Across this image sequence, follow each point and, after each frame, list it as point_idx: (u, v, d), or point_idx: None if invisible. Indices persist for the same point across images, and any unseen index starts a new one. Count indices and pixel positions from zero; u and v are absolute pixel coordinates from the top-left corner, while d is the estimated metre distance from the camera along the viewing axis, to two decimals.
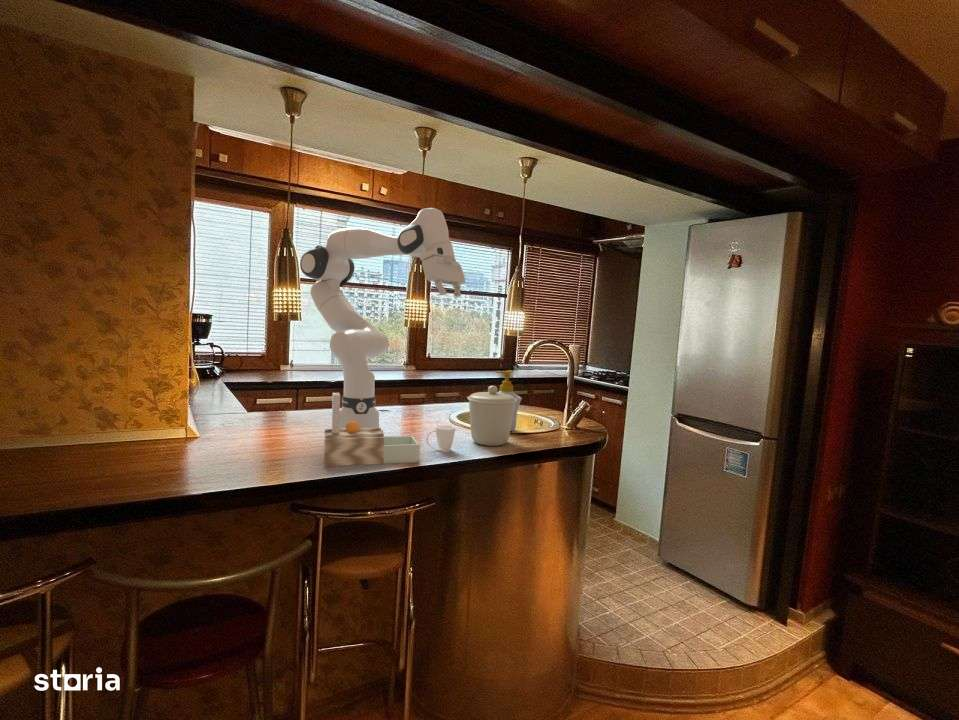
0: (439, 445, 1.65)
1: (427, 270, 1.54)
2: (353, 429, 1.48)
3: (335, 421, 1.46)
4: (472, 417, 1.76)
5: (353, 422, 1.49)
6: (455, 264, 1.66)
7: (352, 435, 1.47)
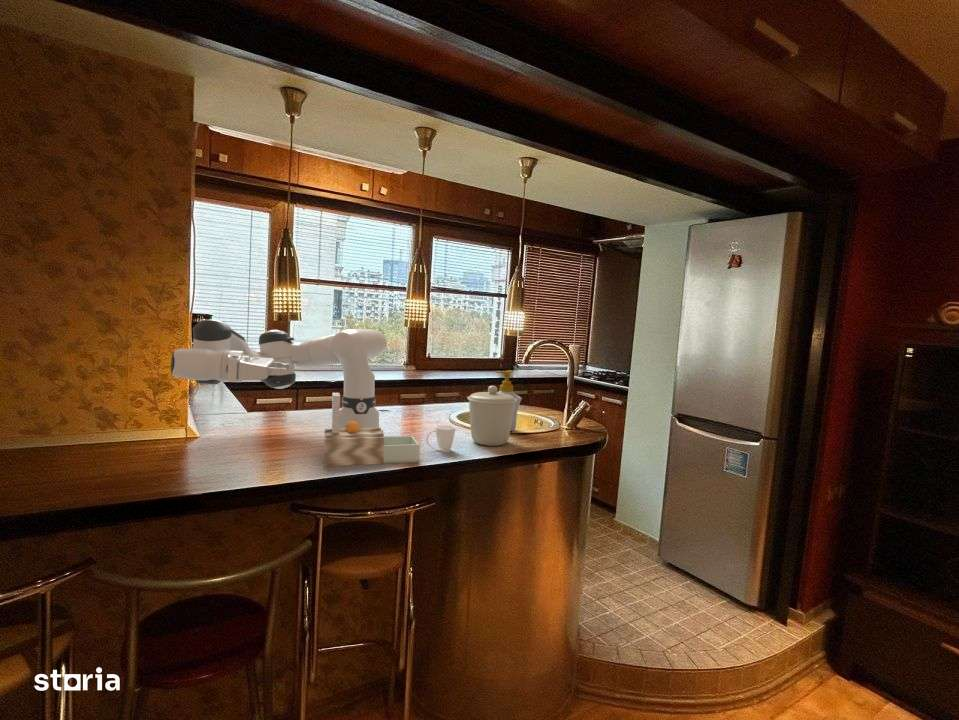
0: (439, 445, 1.65)
1: (253, 374, 1.31)
2: (353, 429, 1.48)
3: (335, 421, 1.46)
4: (472, 417, 1.76)
5: (353, 422, 1.49)
6: (251, 358, 1.44)
7: (352, 435, 1.47)
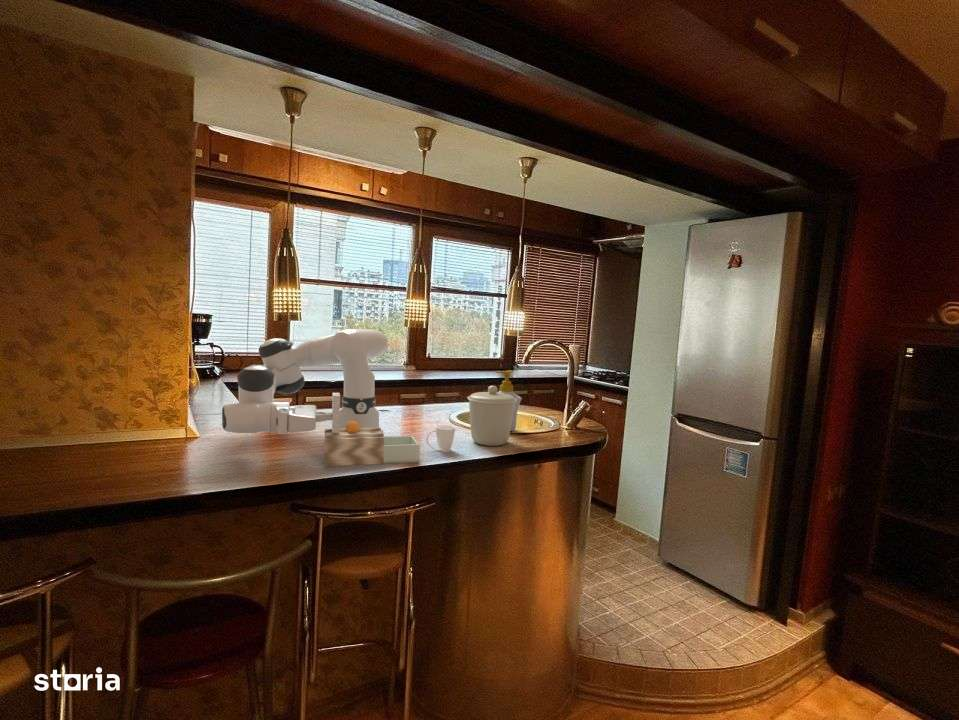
0: (439, 445, 1.65)
1: (303, 426, 1.36)
2: (353, 429, 1.48)
3: (335, 421, 1.46)
4: (472, 417, 1.76)
5: (353, 422, 1.49)
6: (295, 407, 1.49)
7: (352, 435, 1.47)
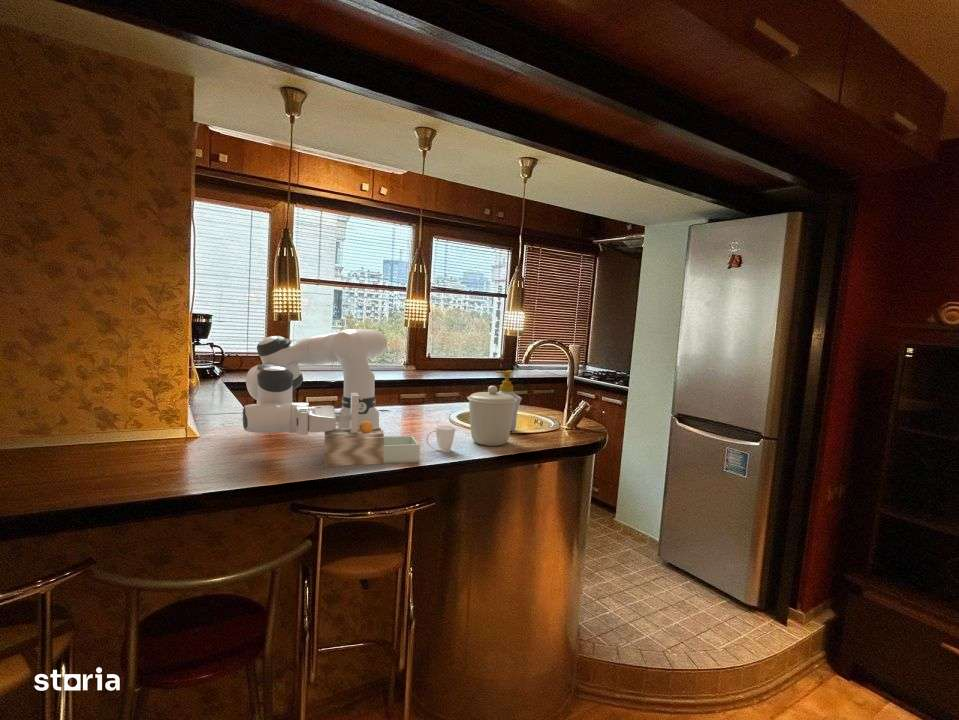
0: (439, 445, 1.65)
1: (324, 426, 1.37)
2: (366, 429, 1.50)
3: (354, 421, 1.47)
4: (472, 417, 1.76)
5: (371, 430, 1.51)
6: None
7: (352, 435, 1.47)
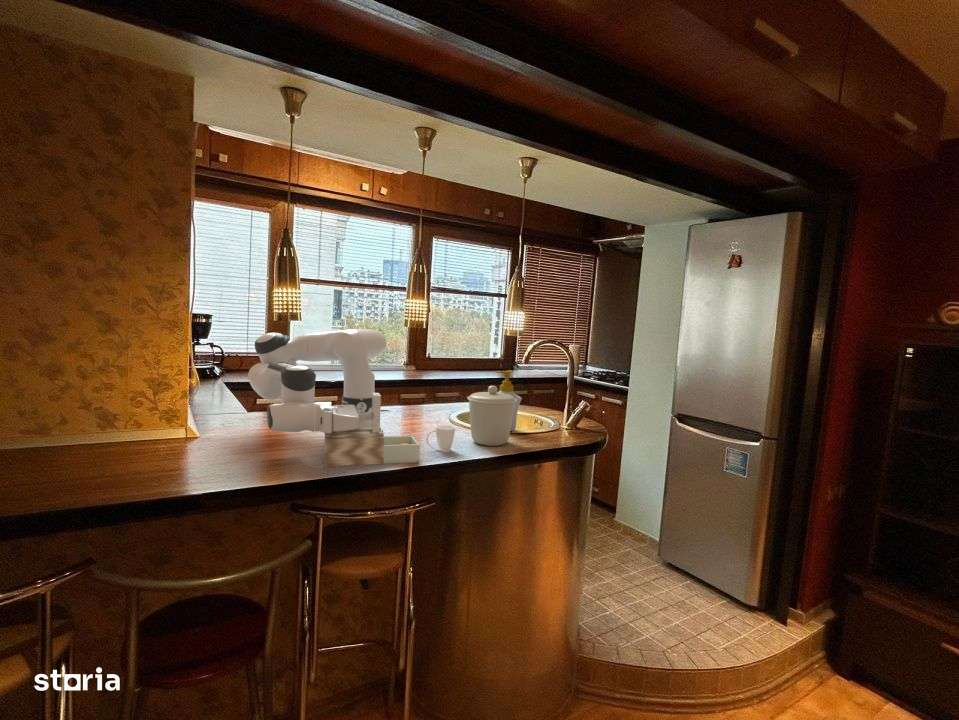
0: (439, 445, 1.65)
1: (347, 425, 1.40)
2: None
3: (376, 421, 1.50)
4: (472, 417, 1.76)
5: None
6: None
7: (352, 435, 1.47)
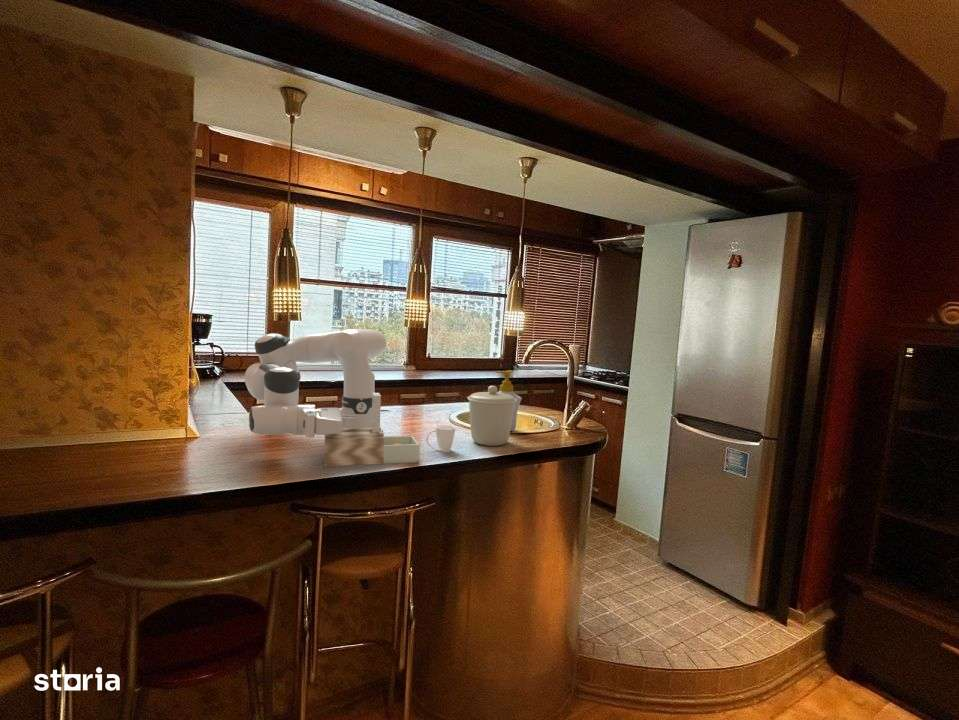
0: (439, 445, 1.65)
1: (330, 429, 1.38)
2: None
3: (376, 421, 1.50)
4: (472, 417, 1.76)
5: None
6: None
7: (352, 435, 1.47)
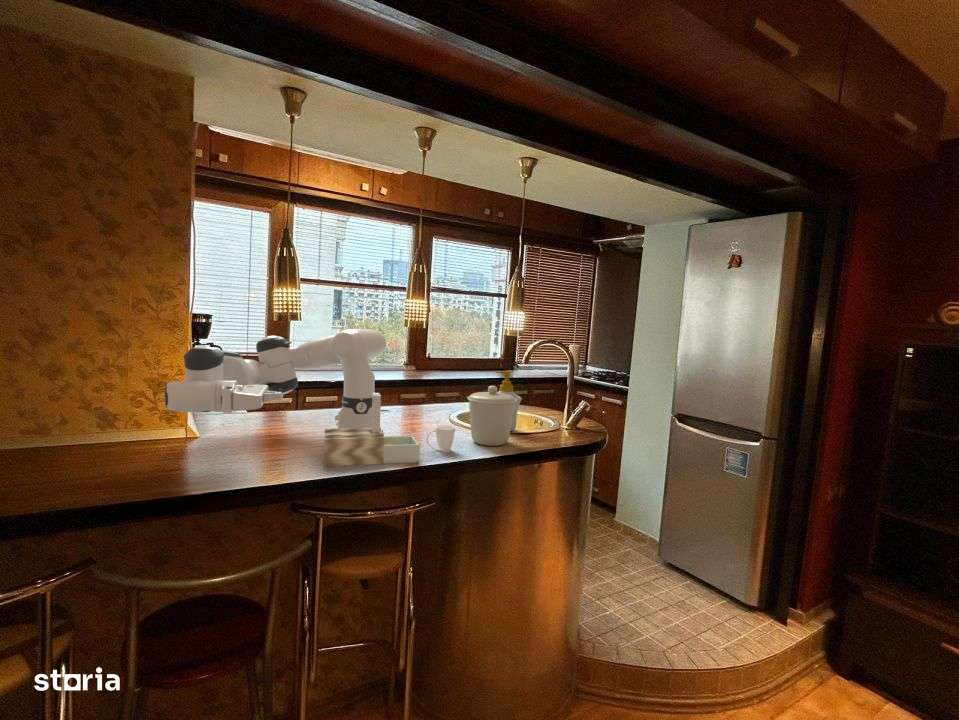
0: (439, 445, 1.65)
1: (248, 404, 1.31)
2: None
3: (376, 421, 1.50)
4: (472, 417, 1.76)
5: None
6: (244, 387, 1.44)
7: (352, 435, 1.47)
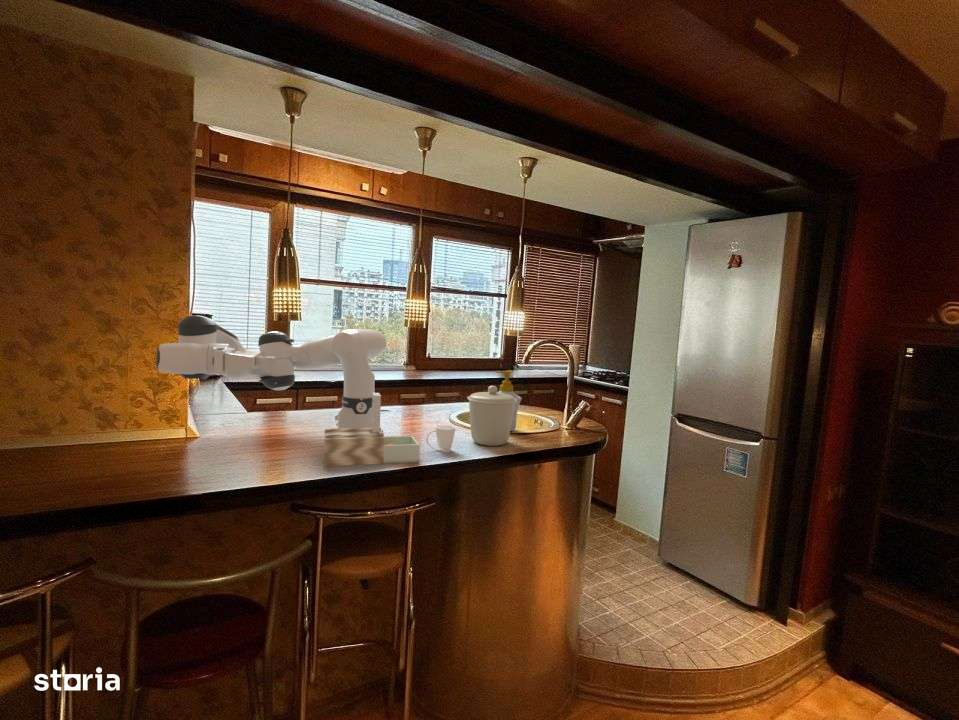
0: (439, 445, 1.65)
1: (240, 365, 1.31)
2: None
3: (376, 421, 1.50)
4: (472, 417, 1.76)
5: None
6: (237, 351, 1.44)
7: (352, 435, 1.47)
